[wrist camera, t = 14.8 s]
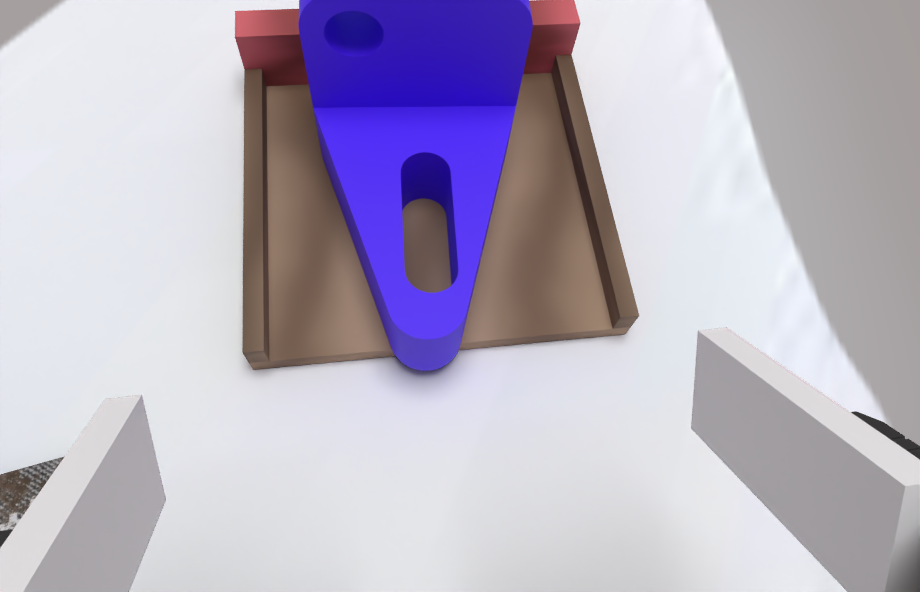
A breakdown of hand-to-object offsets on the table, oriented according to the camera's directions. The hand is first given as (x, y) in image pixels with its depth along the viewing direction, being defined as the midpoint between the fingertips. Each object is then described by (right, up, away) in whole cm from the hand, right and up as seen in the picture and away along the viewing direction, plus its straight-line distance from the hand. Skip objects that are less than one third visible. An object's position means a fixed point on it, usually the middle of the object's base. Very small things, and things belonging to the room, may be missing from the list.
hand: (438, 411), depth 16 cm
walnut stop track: (-2, +9, +24) cm, 26 cm away
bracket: (-2, +7, +23) cm, 24 cm away
